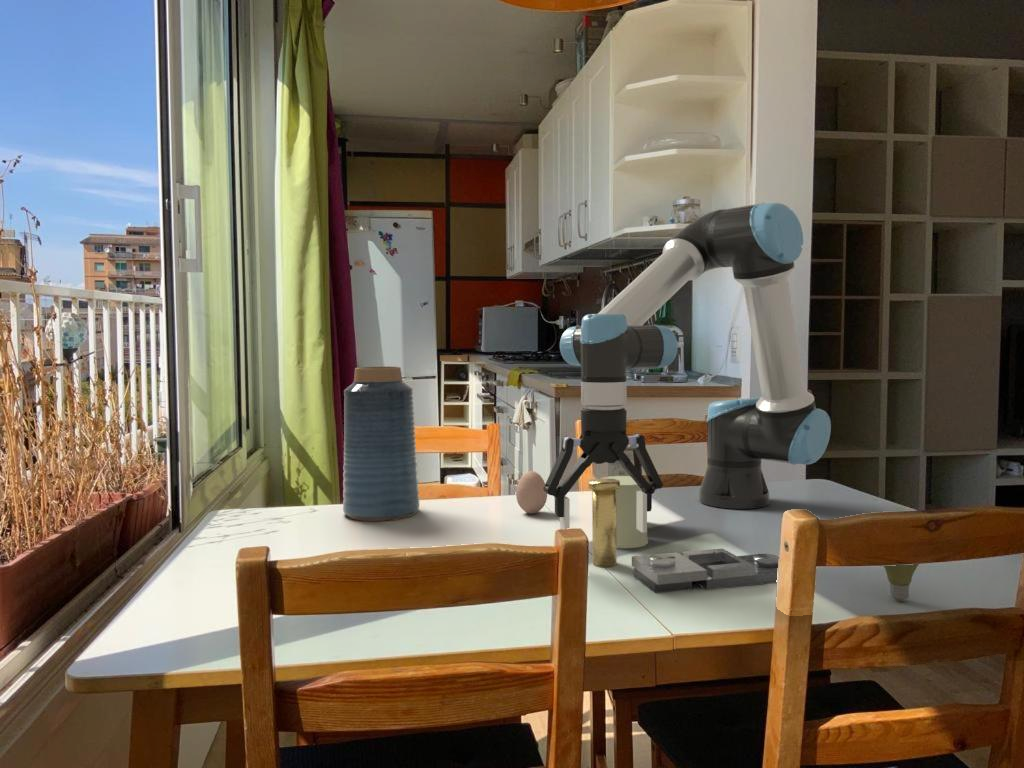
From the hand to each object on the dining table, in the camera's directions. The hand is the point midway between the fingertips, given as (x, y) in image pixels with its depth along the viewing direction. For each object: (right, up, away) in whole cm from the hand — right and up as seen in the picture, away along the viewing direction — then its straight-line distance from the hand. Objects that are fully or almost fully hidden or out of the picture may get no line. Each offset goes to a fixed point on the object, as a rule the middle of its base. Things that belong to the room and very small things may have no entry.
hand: (603, 533), depth 136 cm
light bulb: (+40, -6, -20) cm, 45 cm away
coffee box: (+7, -3, +26) cm, 27 cm away
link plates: (+17, -6, -8) cm, 19 cm away
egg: (-11, -3, +38) cm, 39 cm away
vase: (-44, -3, +40) cm, 59 cm away
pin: (0, -5, 0) cm, 5 cm away
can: (+5, -4, +14) cm, 16 cm away
